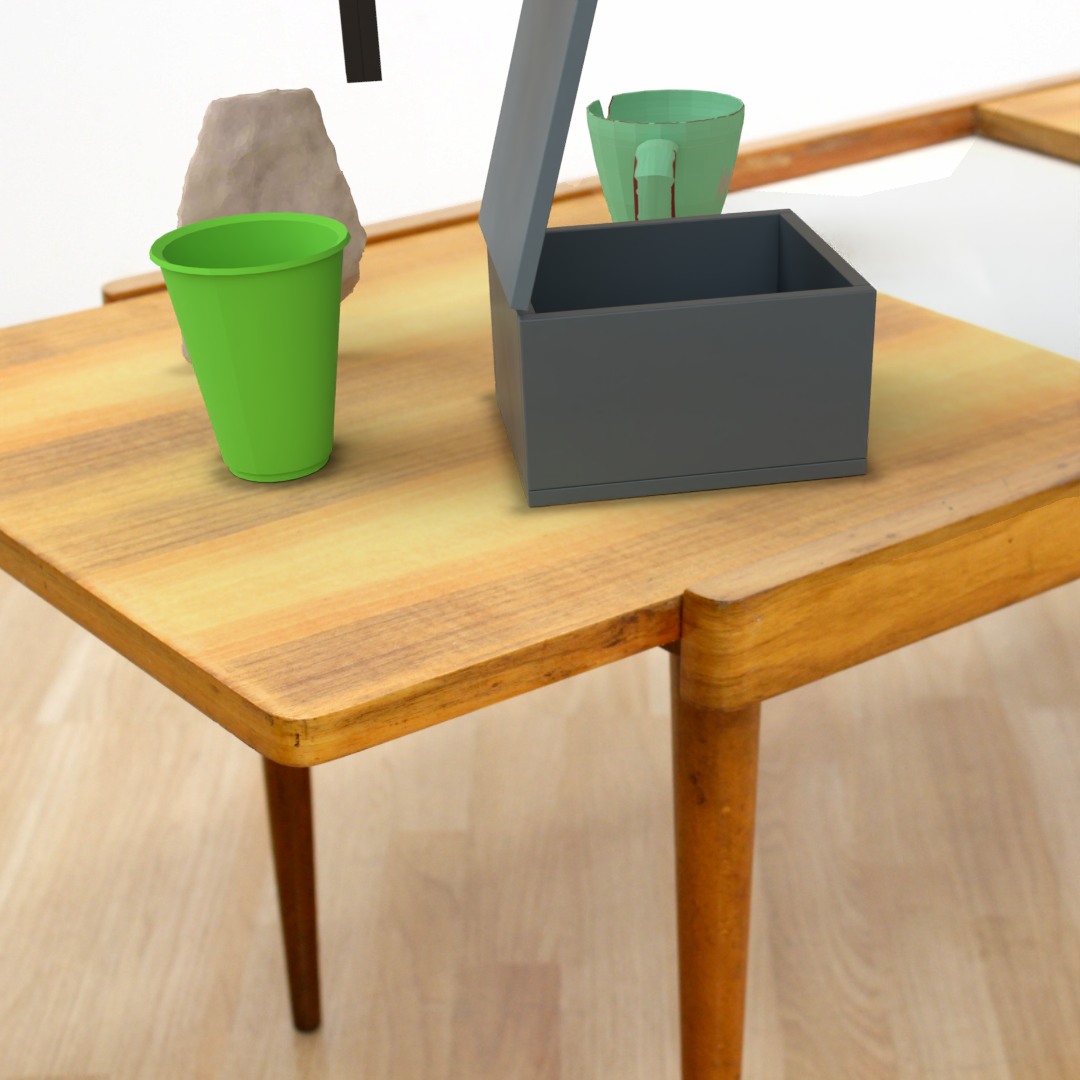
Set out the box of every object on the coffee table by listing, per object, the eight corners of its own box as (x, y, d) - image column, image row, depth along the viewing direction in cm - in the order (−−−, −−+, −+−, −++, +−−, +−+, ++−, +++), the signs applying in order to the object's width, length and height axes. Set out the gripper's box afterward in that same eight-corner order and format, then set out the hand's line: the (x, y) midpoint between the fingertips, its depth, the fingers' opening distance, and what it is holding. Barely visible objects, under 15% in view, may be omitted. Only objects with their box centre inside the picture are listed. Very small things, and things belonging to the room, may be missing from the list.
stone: (181, 373, 86) (137, 99, 79) (195, 352, 89) (154, 86, 82) (373, 368, 86) (346, 91, 79) (381, 347, 89) (356, 79, 82)
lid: (566, -125, 70) (549, -129, 70) (620, -100, 58) (600, -105, 58) (493, 224, 77) (477, 221, 77) (528, 311, 65) (509, 308, 65)
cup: (396, 428, 78) (376, 213, 73) (335, 507, 70) (308, 272, 65) (230, 419, 80) (199, 209, 75) (152, 495, 72) (112, 266, 67)
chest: (784, 369, 83) (790, 207, 79) (866, 474, 71) (877, 289, 67) (495, 396, 81) (485, 231, 77) (529, 507, 69) (519, 320, 65)
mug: (597, 239, 106) (593, 90, 101) (742, 239, 105) (745, 87, 100) (575, 310, 93) (569, 143, 88) (740, 311, 92) (743, 141, 87)
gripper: (471, -582, 60) (504, 51, 71) (127, -573, 58) (214, 70, 69) (493, -623, 53) (525, 82, 64) (105, -614, 52) (205, 104, 63)
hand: (363, 75), depth 67 cm, fingers closed
